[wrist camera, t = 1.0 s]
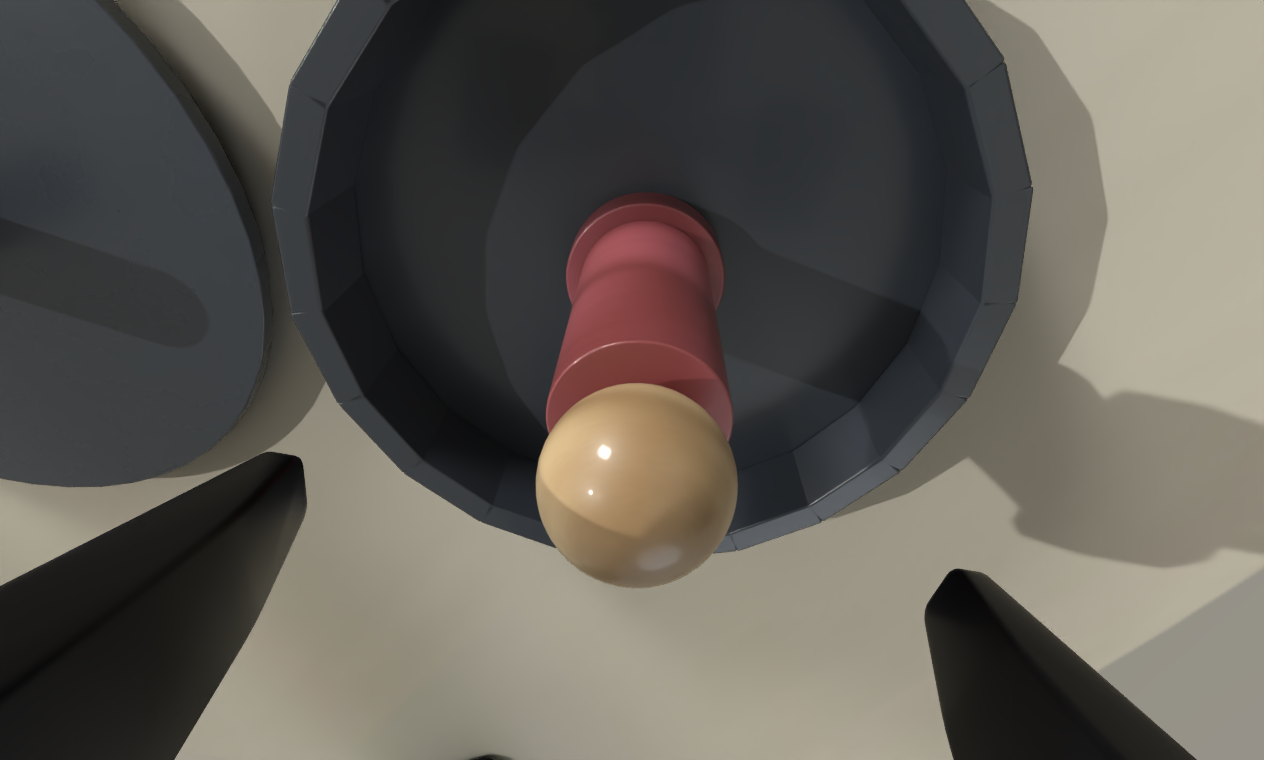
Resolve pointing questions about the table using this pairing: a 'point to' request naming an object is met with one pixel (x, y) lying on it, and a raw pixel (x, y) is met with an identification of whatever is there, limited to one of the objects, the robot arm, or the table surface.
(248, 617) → the robot arm
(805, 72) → the pan
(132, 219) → the lid
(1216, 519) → the table surface
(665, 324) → the doll
